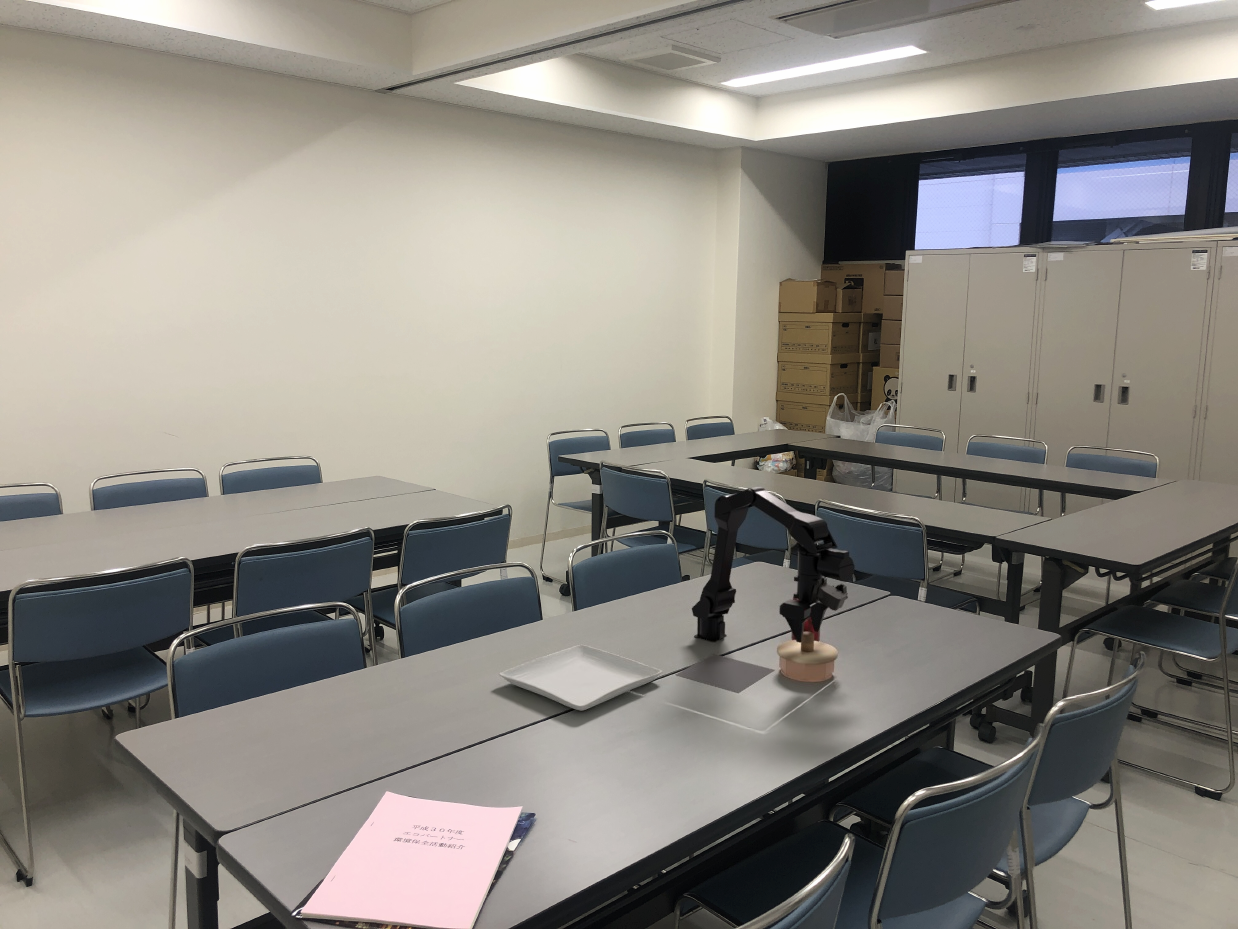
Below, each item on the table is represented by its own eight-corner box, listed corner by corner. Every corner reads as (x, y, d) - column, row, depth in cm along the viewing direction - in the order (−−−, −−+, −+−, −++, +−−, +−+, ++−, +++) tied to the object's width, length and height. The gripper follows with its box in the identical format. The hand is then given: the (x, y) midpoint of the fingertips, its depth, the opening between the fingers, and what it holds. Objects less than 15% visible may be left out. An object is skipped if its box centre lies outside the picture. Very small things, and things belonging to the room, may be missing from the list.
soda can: (817, 636, 237) (819, 593, 235) (821, 646, 229) (822, 601, 228) (790, 636, 237) (791, 592, 235) (792, 645, 230) (793, 600, 228)
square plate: (664, 685, 206) (665, 669, 205) (580, 723, 186) (580, 705, 185) (581, 655, 224) (581, 640, 223) (496, 687, 204) (496, 671, 204)
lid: (766, 655, 210) (766, 635, 209) (793, 638, 221) (794, 620, 220) (821, 669, 201) (822, 648, 200) (847, 651, 212) (848, 632, 211)
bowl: (771, 675, 211) (772, 654, 210) (794, 660, 220) (795, 640, 219) (818, 687, 203) (819, 666, 203) (840, 671, 213) (841, 651, 212)
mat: (675, 676, 210) (675, 674, 210) (713, 655, 223) (713, 653, 223) (738, 694, 200) (738, 692, 199) (774, 671, 213) (774, 669, 213)
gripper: (825, 587, 196) (822, 656, 198) (859, 569, 210) (856, 633, 213) (779, 579, 202) (777, 645, 205) (815, 562, 217) (813, 623, 219)
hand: (807, 636), depth 210 cm, fingers open, 9 cm apart
